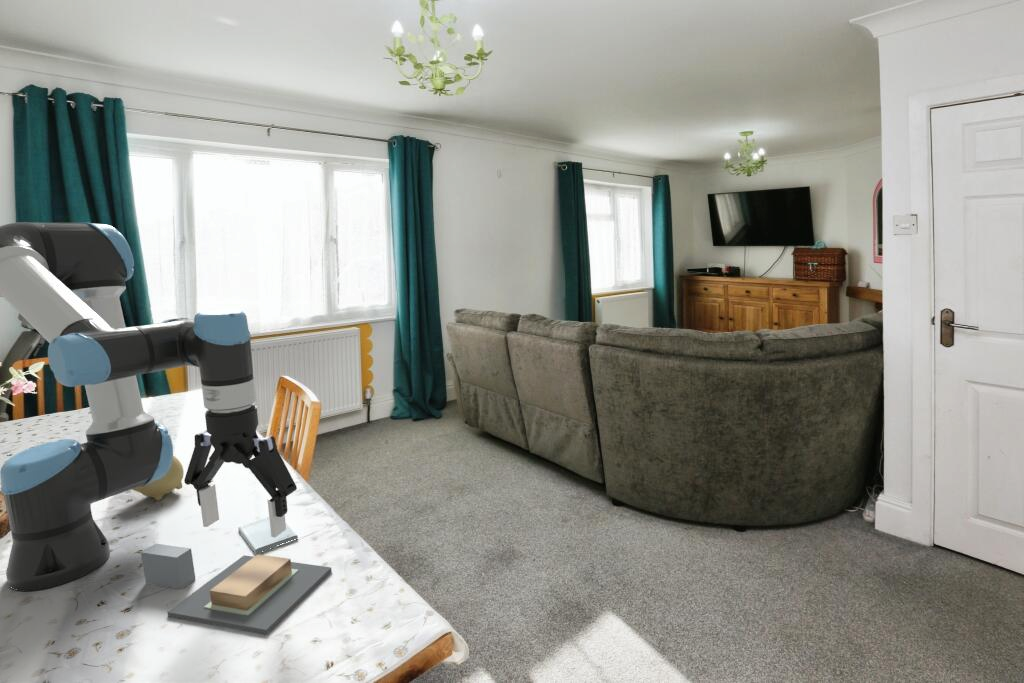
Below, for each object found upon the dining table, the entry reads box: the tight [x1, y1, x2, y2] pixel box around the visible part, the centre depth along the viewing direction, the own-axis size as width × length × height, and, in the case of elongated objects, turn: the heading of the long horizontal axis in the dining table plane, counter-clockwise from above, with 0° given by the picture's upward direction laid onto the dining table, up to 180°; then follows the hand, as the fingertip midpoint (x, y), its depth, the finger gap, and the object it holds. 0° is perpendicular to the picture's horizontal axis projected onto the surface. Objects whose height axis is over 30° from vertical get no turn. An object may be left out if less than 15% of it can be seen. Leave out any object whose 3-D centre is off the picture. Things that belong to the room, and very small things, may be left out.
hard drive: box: [237, 516, 299, 555], centre depth 114 cm, size 2×8×12 cm
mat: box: [167, 554, 332, 635], centre depth 95 cm, size 19×17×1 cm
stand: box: [140, 543, 196, 590], centre depth 99 cm, size 8×3×6 cm, turn 74°
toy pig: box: [131, 455, 184, 502], centre depth 134 cm, size 10×12×11 cm
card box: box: [210, 553, 292, 610], centre depth 95 cm, size 11×7×2 cm, turn 164°
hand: (244, 528), depth 93 cm, fingers open, 13 cm apart
